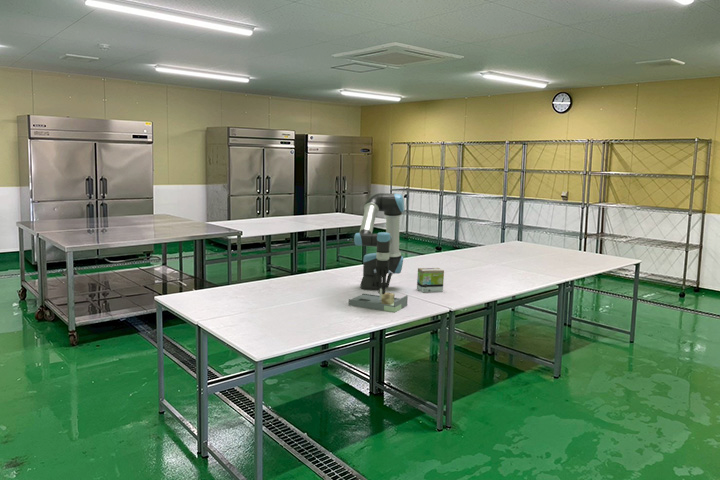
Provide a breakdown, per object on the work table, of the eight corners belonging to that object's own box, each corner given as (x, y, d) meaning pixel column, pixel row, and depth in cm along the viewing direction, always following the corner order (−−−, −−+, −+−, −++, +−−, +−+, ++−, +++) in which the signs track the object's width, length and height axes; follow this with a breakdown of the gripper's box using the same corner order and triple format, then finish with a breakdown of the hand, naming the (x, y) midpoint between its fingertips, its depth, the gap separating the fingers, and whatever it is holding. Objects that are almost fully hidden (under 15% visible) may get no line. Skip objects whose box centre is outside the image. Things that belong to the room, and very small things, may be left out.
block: (381, 303, 323) (381, 294, 322) (385, 301, 328) (385, 292, 327) (390, 304, 321) (390, 295, 320) (394, 302, 325) (394, 293, 325)
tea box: (422, 292, 365) (422, 270, 363) (416, 289, 374) (417, 267, 372) (443, 291, 369) (444, 269, 367) (437, 288, 378) (438, 267, 376)
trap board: (348, 305, 330) (348, 295, 329) (362, 298, 345) (362, 289, 345) (395, 312, 316) (395, 302, 315) (407, 305, 332) (407, 295, 331)
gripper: (369, 259, 321) (368, 299, 324) (390, 261, 315) (388, 302, 318) (375, 257, 327) (374, 296, 331) (395, 259, 321) (394, 299, 325)
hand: (381, 299), depth 324 cm, fingers closed
